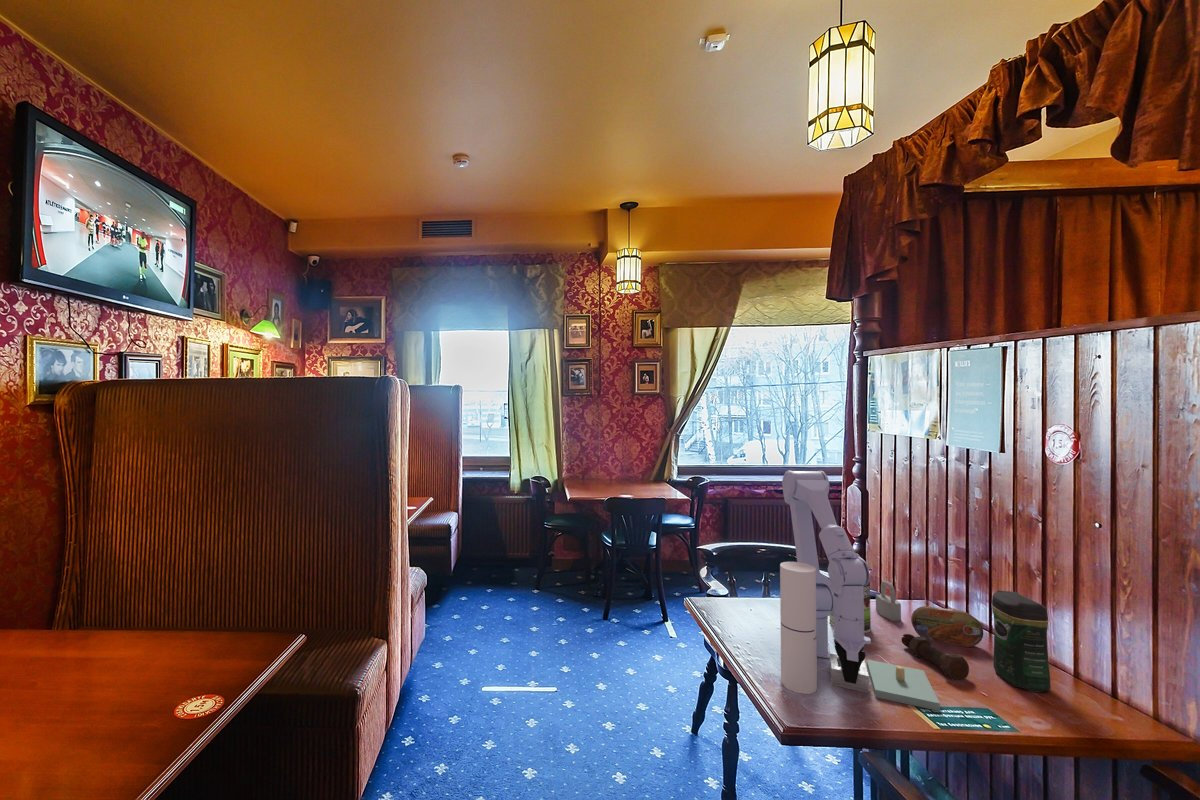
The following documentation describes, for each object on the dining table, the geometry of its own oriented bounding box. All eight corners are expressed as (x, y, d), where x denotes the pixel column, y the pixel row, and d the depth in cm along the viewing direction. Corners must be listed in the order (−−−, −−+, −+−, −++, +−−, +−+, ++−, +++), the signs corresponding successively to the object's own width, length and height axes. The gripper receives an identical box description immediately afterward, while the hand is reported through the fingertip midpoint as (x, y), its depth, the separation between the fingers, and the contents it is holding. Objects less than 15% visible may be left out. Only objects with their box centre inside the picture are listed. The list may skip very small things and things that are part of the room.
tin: (913, 639, 119) (912, 606, 120) (910, 633, 122) (909, 602, 123) (984, 650, 114) (983, 616, 114) (979, 644, 117) (978, 611, 117)
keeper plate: (875, 697, 94) (875, 677, 94) (866, 666, 106) (866, 648, 106) (940, 711, 89) (939, 690, 90) (923, 677, 101) (923, 658, 101)
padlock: (873, 610, 137) (873, 577, 137) (886, 610, 137) (886, 577, 137) (889, 621, 130) (889, 585, 130) (903, 621, 130) (902, 585, 130)
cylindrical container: (773, 678, 100) (772, 563, 101) (797, 671, 103) (796, 560, 104) (799, 697, 94) (798, 573, 95) (824, 689, 96) (823, 569, 98)
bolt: (909, 654, 115) (962, 687, 100) (893, 644, 115) (944, 676, 100) (919, 633, 116) (973, 662, 101) (902, 623, 116) (954, 651, 101)
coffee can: (879, 628, 125) (878, 576, 126) (857, 637, 120) (856, 583, 120) (843, 614, 134) (842, 566, 134) (821, 622, 129) (820, 571, 129)
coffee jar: (1059, 696, 95) (1056, 605, 96) (1015, 691, 96) (1012, 602, 97) (1026, 671, 104) (1023, 589, 105) (986, 667, 106) (984, 586, 107)
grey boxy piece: (831, 685, 98) (831, 668, 98) (829, 668, 104) (829, 653, 104) (869, 693, 95) (868, 676, 95) (864, 676, 102) (864, 660, 102)
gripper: (875, 632, 90) (876, 703, 89) (865, 605, 103) (866, 667, 102) (835, 625, 92) (836, 694, 92) (830, 600, 106) (831, 660, 105)
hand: (849, 679), depth 97 cm, fingers closed on grey boxy piece
